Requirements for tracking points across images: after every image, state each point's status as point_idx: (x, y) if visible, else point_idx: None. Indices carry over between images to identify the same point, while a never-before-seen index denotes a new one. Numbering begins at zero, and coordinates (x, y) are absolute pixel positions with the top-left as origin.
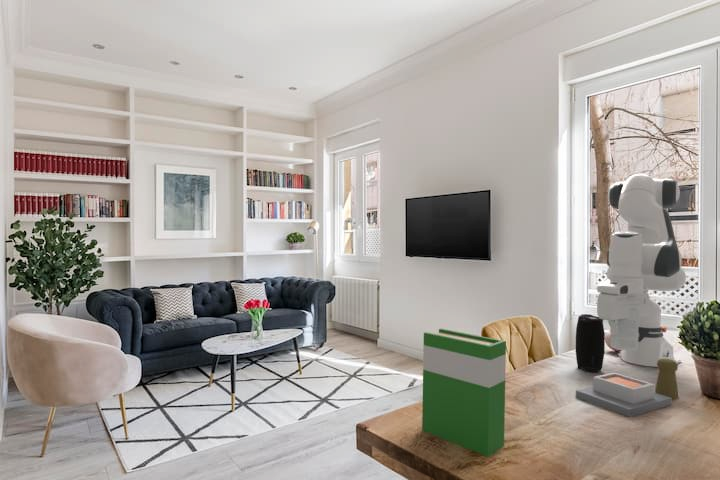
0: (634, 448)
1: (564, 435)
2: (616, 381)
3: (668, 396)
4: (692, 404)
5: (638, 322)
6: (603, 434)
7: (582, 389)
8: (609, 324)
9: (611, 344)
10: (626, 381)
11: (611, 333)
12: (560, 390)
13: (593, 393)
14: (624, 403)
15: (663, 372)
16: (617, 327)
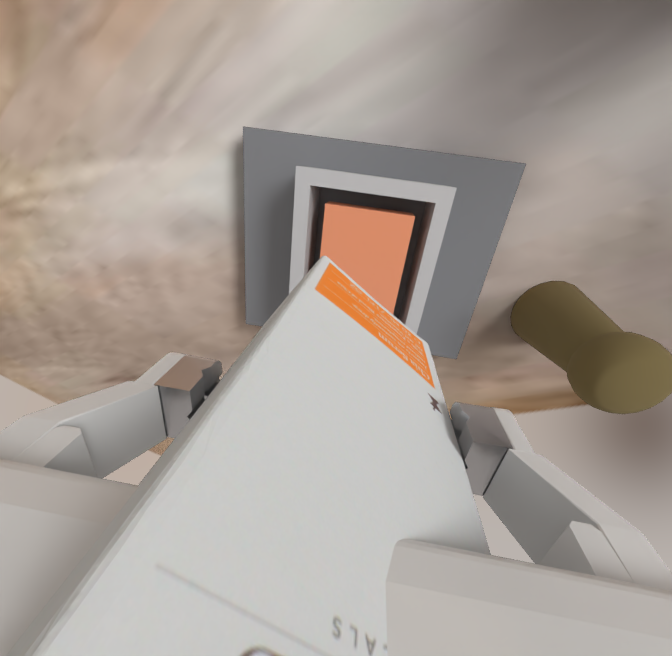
0: (120, 376)
1: (19, 274)
2: (345, 249)
3: (515, 329)
4: (505, 379)
5: (534, 557)
6: (109, 320)
7: (275, 136)
8: (67, 406)
9: (309, 270)
10: (380, 272)
11: (171, 356)
12: (262, 31)
13: (273, 190)
14: (278, 297)
15: (567, 352)
16: (137, 450)
